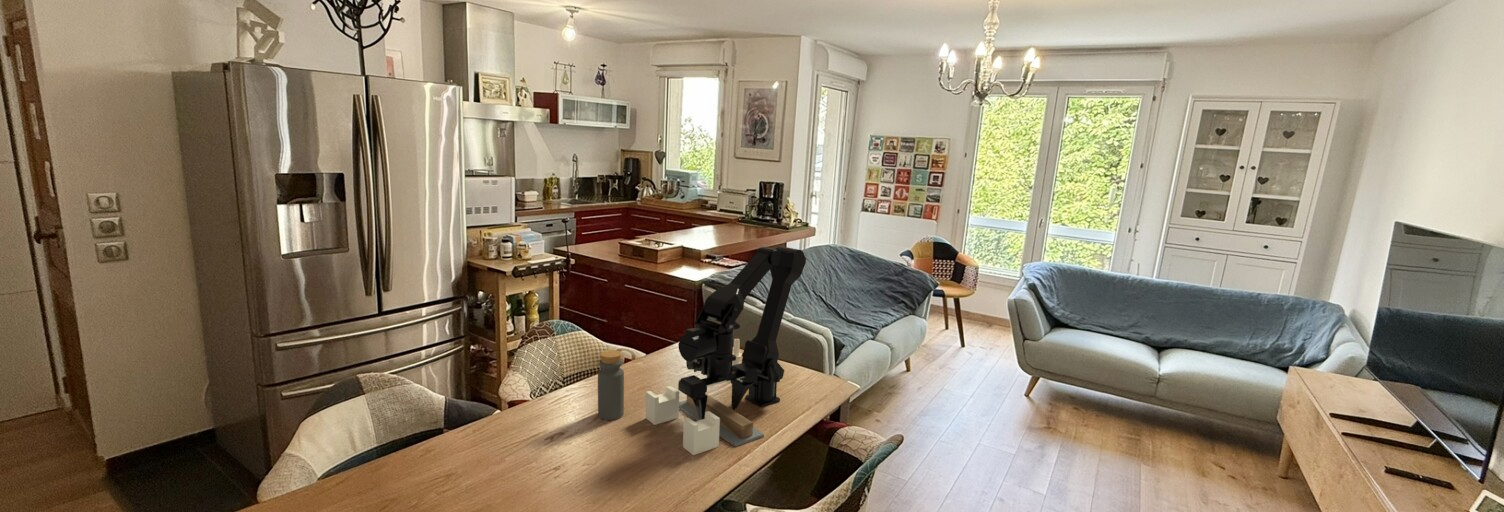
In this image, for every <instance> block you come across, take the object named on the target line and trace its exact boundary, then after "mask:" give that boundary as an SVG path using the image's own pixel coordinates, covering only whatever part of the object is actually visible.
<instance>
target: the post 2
mask: <svg viewBox="0 0 1504 512" xmlns="http://www.w3.org/2000/svg"><path fill="white" fill-rule="evenodd" d="M719 427H720V418H719V417H717V416H716V415H714V414H713V413H711V412H710V411H707V412H705V419H702V420H699V421H697V420H695V421H694V420H693V419H691V418H689V416H688V417H684V418H683V427H682V428H683V431H682V435H683V436H682V448H684V449H685V450H686V451H688V452H689V454H691V455H692V456H695V455H698V454H701V453H704V452H707V451H710V450H713V449H717V448H719V447H720V446H719V445H720V436H719Z"/></svg>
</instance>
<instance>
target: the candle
mask: <svg viewBox="0 0 1504 512" xmlns="http://www.w3.org/2000/svg"><path fill="white" fill-rule="evenodd" d="M740 342H741V341H740V338H733V355H735V356H736V360H735V361H732V366H733V365H736V364H740V363H741V357H743V356H742V353H743V352H740V346H741V345H740Z"/></svg>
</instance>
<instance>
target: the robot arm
mask: <svg viewBox="0 0 1504 512" xmlns="http://www.w3.org/2000/svg"><path fill="white" fill-rule="evenodd" d="M806 263H807V258H806V256H805V253H804V251H803V250H802V249H798V248H792V247H786V246H781V245H779V246H777V247H776V248H771V247H766V246H762V247H759V248H757V250H756V251H755V254H754V256H752V258H751V259H750V260H749V261H748V263H746V264H745V265H744V267H743V268H742V269H741V270H740V271H739V272H738V273H737V274H736V275H735V277H734V278H733V279H732V280H731V281H730V282H729V283H727V285H724V286H722V287H719V288H717V289H716V290H715V291H713V292H712V293H710V295H708V296H707V298H706V299H705V301H704V304H703V306H702V308H701V309H700V311H699V313H698V315H697V317H696V320H694V323H693V324H694V326H697V327H693V328H687V329H685V335H682V336H681V337H680V340H679V342H678V352H679V354H680V356H681V357H682V359H683V360H685V363H686V369H687V370H688V371H689V370H691V371H692V370H693V373H696V372H700V374H701V375H702V376H706V377H704V378H699V377H698V376H697V375H695V374H694V375H688V376H685V377H681V378H680V379H679V381H678V383H677V385H678V386H677V390H678V391H679V392H681V393H683V394H684V395H685V396H686V397H687V396H689V397H690V398H692V400H693V402H694V404H695V407H696V410H697V413H698V416H699V418H700V419H701V420H702V419H704V416H705V410H706V404H707V397H708V396H707V395H706V394H707V391H708V387H711V386H715V385H719V384H722V383H725V382H729V381H730V384H731V409H732V410H734V411H736V410H737V408H738V407H739V405H740V403H741V401H742V400H743V398H744V397H745V399H747V400H748V401H750V402H751V403H753V404H756V405H757V406H759V407H764V406H768V405H770V404H774V403H777V402H780V401H781V398H780V397H779V396H777V387H778V383H780V382H781V380H782V379H783V378H784V374H785V369H784V368H783V366H782V365H781V364H780V363H779V362H778V361H779V355H780V353H779V349H778V345H777V340H778V339H777V338H778V334H779V332H780V328H781V324H782V320H783V316H784V314H785V309H786V306H787V303H788V299H789V295H790V291H791V288H792V286H793V284H794V283H796V281H797V280H799V278H800V277H801V276H802V273H803V271H804V268H805V266H806ZM769 271H770V272H769ZM768 273H770V275H771V283H770V286H769V290H768V293H767V297H766V301H765V304H764V309H763V311H762V315H761V319H760V320H759V322H760V323H759V326H758V328H757V333H756V335H755V336H754V337H753V338H752V339H751V340H746V341H745V343H744V347H743V348H744V349H743V352H741V353H742V356H741V357H742V358H741V362H740V364H736V365H733V366H732V361H735V360H736V356H735V355H733V349H734V331H735V330H738V329H740V328H741V325H740V324H739V323H738V322H737V321H736V320H737V319H738V318H739V316H740V315H741V314H742V311H743V310H744V309H745V308H744V307H745V300H746V299H747V297H748V296H749V295H750V293H751V292H752V291H753V290H754V288H756V286H757V285H758V284H759V283H760V282H761V281H762V279H763V278H764V277H765V276H766V274H768ZM708 319H709V320H708ZM714 321H715V322H714ZM747 392H748V394H746V393H747ZM705 393H706V394H705Z"/></svg>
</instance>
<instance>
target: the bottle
mask: <svg viewBox="0 0 1504 512" xmlns="http://www.w3.org/2000/svg"><path fill="white" fill-rule="evenodd" d="M621 357H622V352H621V351H620V350H616V349H615V350H614V349H609V350H605V351H602V352H600V360H599V367H600V369H599V370H598V372H597V416H598V417H599V418H600V419H602V420H604V421H615V420H618V419H621V418H622V417H624V413H625V371H624V369H623V368H621V367H622V366H623V359H622V358H621Z"/></svg>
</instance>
